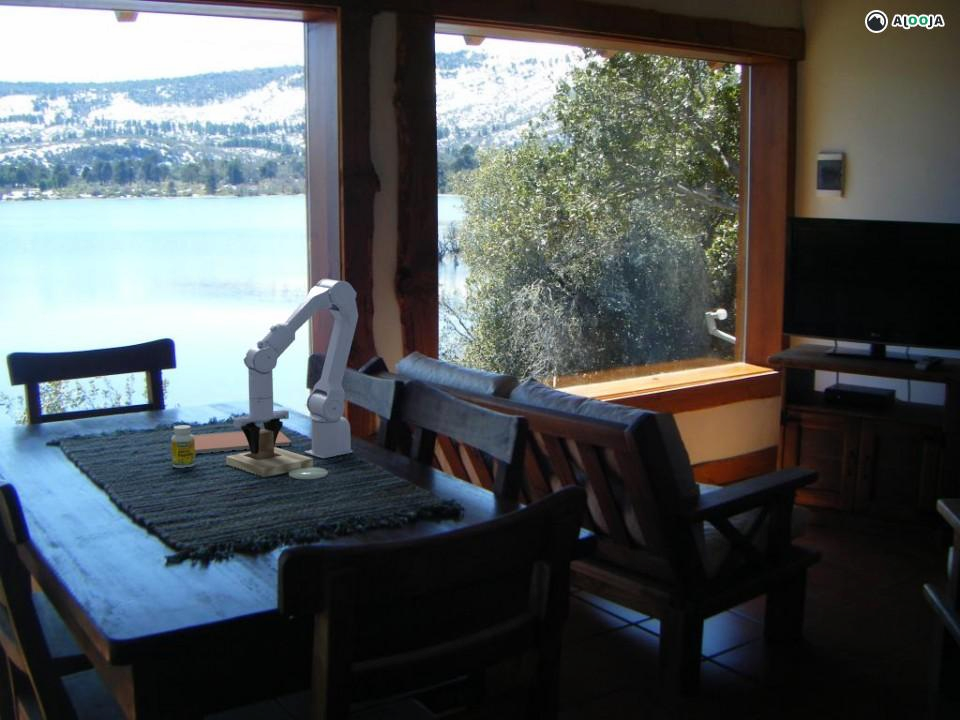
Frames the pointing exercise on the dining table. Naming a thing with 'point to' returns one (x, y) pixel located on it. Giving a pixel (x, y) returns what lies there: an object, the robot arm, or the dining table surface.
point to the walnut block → (265, 445)
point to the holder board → (270, 462)
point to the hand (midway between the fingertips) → (262, 451)
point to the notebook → (229, 442)
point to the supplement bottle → (183, 447)
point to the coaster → (308, 473)
